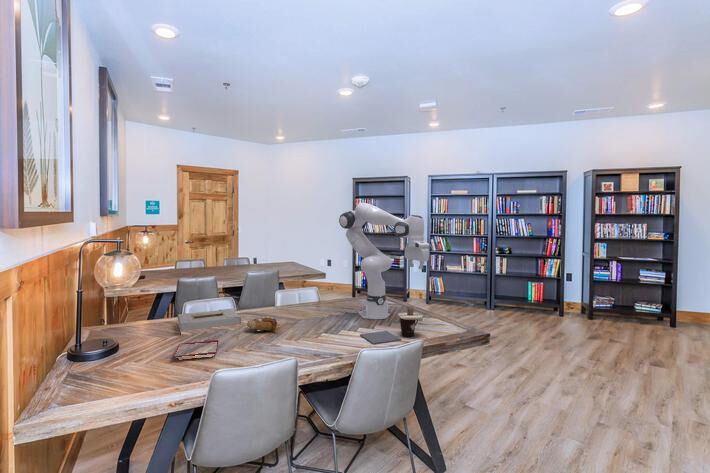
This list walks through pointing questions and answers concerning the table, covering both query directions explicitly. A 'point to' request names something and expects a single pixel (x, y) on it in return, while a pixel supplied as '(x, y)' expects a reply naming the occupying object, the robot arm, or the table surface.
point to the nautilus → (263, 323)
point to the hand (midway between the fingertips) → (416, 267)
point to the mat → (380, 337)
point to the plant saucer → (198, 353)
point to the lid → (410, 314)
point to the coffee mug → (407, 327)
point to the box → (208, 319)
